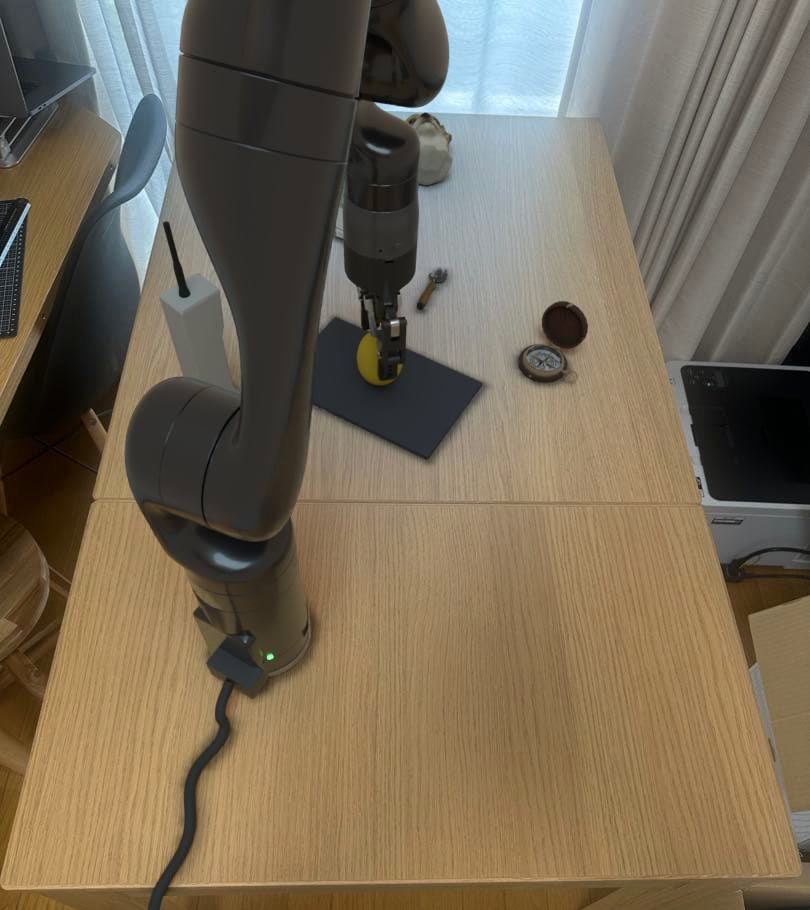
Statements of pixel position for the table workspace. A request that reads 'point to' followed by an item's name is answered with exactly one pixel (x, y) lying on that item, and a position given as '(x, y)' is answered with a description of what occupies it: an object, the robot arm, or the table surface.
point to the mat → (389, 392)
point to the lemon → (370, 361)
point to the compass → (555, 342)
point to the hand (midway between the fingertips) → (378, 352)
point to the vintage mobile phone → (196, 324)
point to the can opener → (431, 287)
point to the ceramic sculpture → (431, 148)
